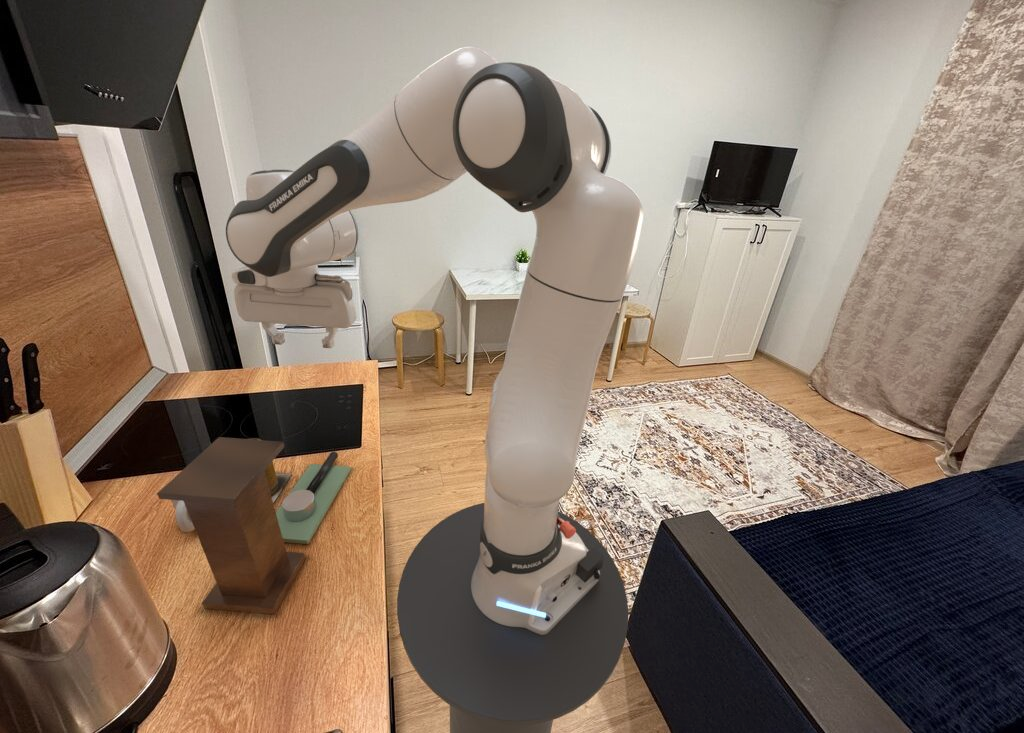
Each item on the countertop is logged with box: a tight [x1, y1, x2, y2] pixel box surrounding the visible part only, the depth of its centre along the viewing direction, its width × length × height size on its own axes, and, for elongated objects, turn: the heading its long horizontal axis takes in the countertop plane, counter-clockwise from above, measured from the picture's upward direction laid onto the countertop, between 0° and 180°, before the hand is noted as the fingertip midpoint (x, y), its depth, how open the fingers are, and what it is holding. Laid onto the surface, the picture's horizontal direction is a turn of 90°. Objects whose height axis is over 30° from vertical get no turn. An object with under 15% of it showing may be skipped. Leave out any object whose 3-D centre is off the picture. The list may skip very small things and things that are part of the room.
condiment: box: [249, 437, 292, 504], centre depth 84 cm, size 7×8×12 cm
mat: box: [275, 463, 352, 545], centre depth 84 cm, size 20×9×1 cm, turn 178°
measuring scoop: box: [281, 451, 339, 522], centre depth 87 cm, size 19×6×3 cm, turn 178°
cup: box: [170, 500, 195, 533], centre depth 77 cm, size 7×10×9 cm
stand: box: [156, 436, 306, 615], centre depth 64 cm, size 12×11×24 cm
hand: (304, 345), depth 78 cm, fingers open, 8 cm apart
